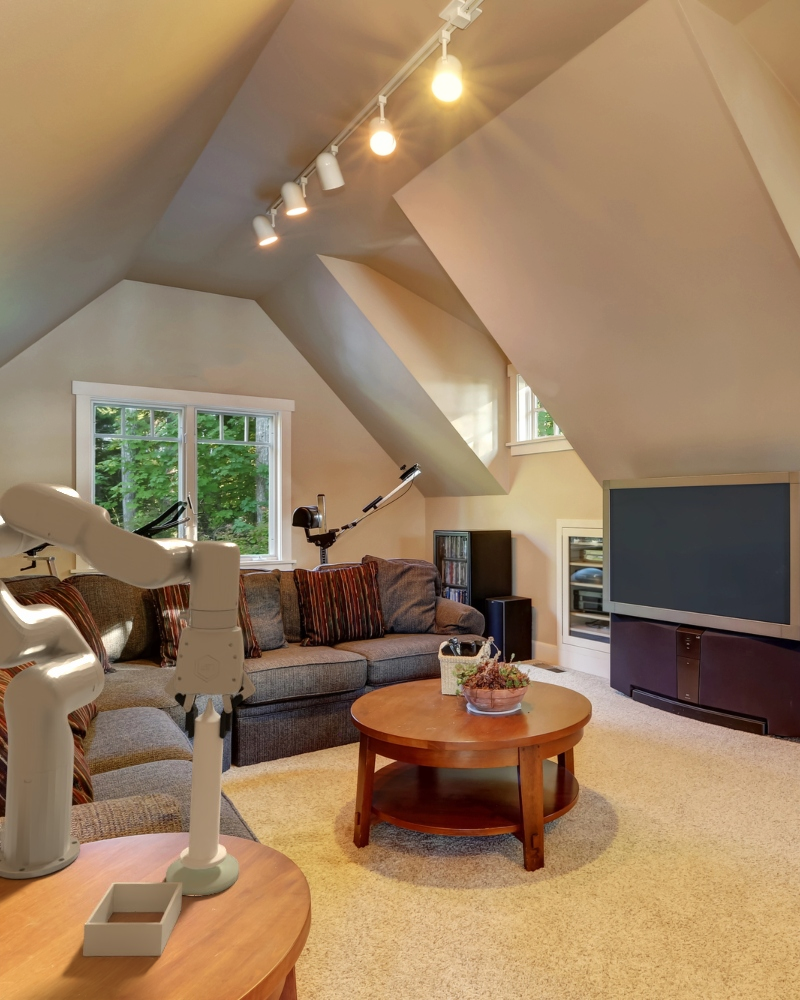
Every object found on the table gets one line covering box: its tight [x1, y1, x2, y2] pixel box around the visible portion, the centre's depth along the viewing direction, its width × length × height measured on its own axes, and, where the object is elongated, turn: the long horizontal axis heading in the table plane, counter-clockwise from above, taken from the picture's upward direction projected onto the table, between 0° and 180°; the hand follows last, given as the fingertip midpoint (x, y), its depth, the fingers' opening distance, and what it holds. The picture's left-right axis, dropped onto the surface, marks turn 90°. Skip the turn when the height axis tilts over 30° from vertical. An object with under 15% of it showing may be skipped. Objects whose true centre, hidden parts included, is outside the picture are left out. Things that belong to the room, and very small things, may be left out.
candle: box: [179, 697, 228, 869], centre depth 105 cm, size 7×7×25 cm
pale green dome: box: [165, 853, 240, 896], centre depth 105 cm, size 11×11×1 cm
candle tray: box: [82, 881, 183, 957], centre depth 91 cm, size 10×10×4 cm
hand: (208, 734), depth 105 cm, fingers closed on candle, 4 cm apart
